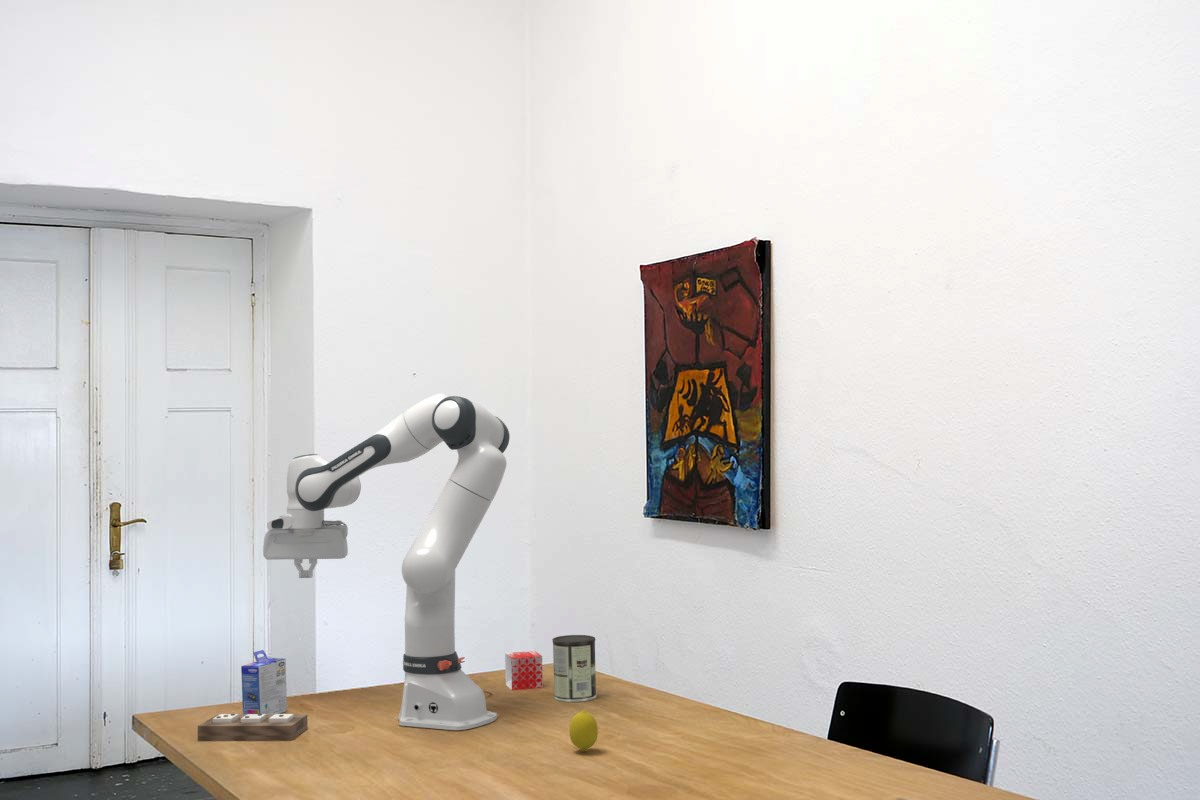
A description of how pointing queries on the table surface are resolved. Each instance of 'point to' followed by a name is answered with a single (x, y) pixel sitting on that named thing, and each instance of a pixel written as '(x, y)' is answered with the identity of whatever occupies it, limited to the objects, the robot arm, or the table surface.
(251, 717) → the button two
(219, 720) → the button three
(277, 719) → the button one
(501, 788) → the table surface
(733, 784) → the table surface
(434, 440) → the robot arm
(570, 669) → the coffee can
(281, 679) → the ink cartridge box
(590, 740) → the lemon
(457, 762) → the table surface
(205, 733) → the button panel
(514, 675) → the red and white cube
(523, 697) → the table surface
